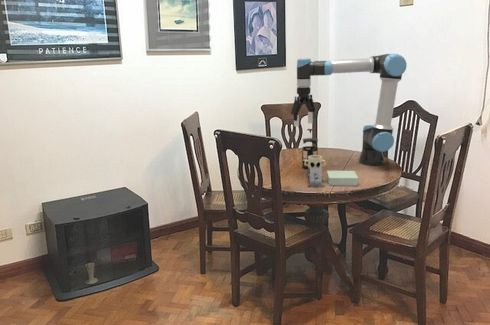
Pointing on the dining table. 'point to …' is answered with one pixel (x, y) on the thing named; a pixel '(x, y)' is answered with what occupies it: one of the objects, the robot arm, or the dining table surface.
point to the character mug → (314, 162)
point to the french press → (309, 151)
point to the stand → (342, 178)
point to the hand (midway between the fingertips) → (303, 124)
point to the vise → (315, 177)
